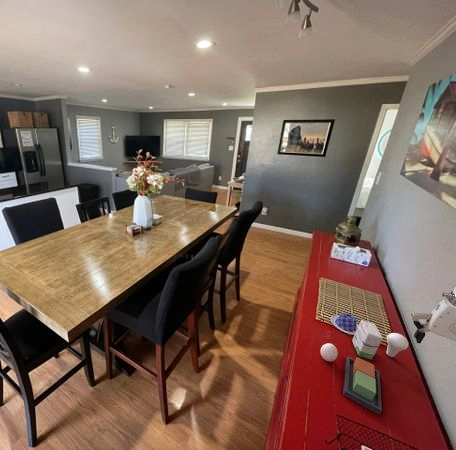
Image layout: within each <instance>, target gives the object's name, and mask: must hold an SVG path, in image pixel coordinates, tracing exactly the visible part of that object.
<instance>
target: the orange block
mask: <svg viewBox="0 0 456 450" xmlns="http://www.w3.org/2000/svg"><path fill="white" fill-rule="evenodd" d="M375 369H376V368H375V364H373V363H371V362H369V361H367V360H364V359H362V358H360V357H359V356H356V357H355V362H354V364H353V377H354V375H355V373H356V371H357V370H358V371H360V372H362V373H364V374H366V375H368V376H370V377H372V378H374V379H375Z"/></svg>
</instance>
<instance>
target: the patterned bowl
mask: <svg viewBox="0 0 456 450" xmlns="http://www.w3.org/2000/svg"><path fill="white" fill-rule="evenodd" d="M329 320H330V322H331V324H332V325H333V327H335V328H336V329H337V330H340V331H341V332H344V333H346V334H348V335H353V336H354V335H355V333H356V331H357V329H358V326H359V324H358V321H357V319H356V317H355V316H354V315H352V314H349V313H348V312H347V313H346V312H342V313H341V314H340V315H339V314H334V315H332V316H330V319H329Z"/></svg>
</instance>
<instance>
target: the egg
mask: <svg viewBox="0 0 456 450" xmlns="http://www.w3.org/2000/svg"><path fill="white" fill-rule="evenodd" d="M319 351H320V352H319V353H320V355H321V358H322V359H323V360H324V361H326V362H334V361H335V360H337V357H338V354H339V352H338V349H337V347H336V345H334V344H333V343H330V342H328V343H324V344H323V345H322V346H321V347H320V349H319Z"/></svg>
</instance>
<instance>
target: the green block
mask: <svg viewBox="0 0 456 450" xmlns="http://www.w3.org/2000/svg"><path fill="white" fill-rule="evenodd" d="M352 391H354V392H356V393H357V394H359V395H361V396H363V397H365V398H367V399H369V400H371V401H372V399H373V398H374V396H375V394H376V379H374V378H372V377H370V376H368V375H366V374H364V373H362V372H360V371H358V370H357V371H356V373H355V375H354V377H353V389H352Z"/></svg>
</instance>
